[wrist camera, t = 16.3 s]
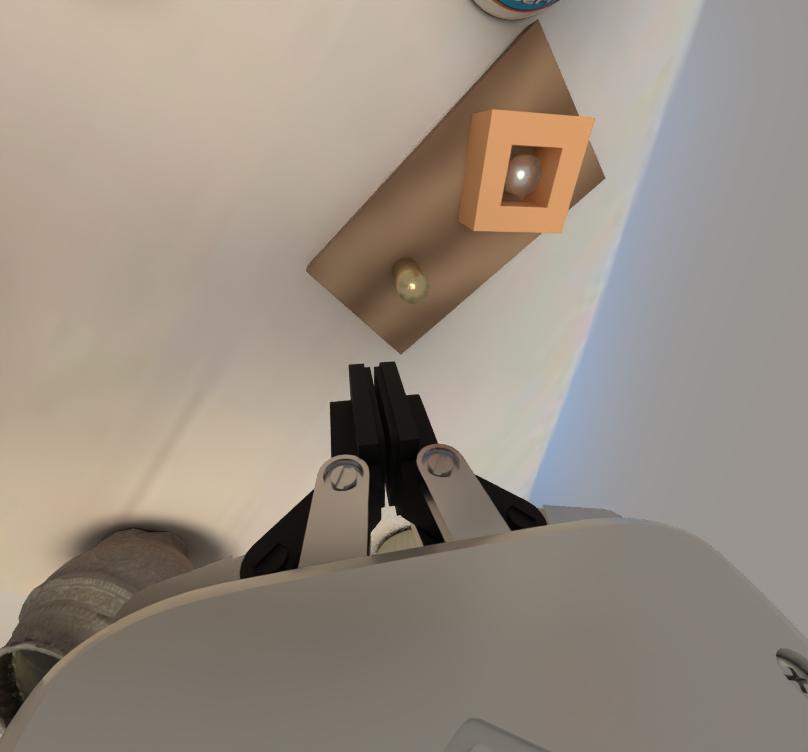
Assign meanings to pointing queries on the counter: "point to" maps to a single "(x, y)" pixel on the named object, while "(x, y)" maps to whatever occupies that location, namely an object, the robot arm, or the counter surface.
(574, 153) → the collar
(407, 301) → the short gold cylinder
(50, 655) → the pot
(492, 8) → the fruit juice
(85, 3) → the counter surface
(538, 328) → the counter surface
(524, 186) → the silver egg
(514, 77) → the walnut board
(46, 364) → the counter surface
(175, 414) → the counter surface
